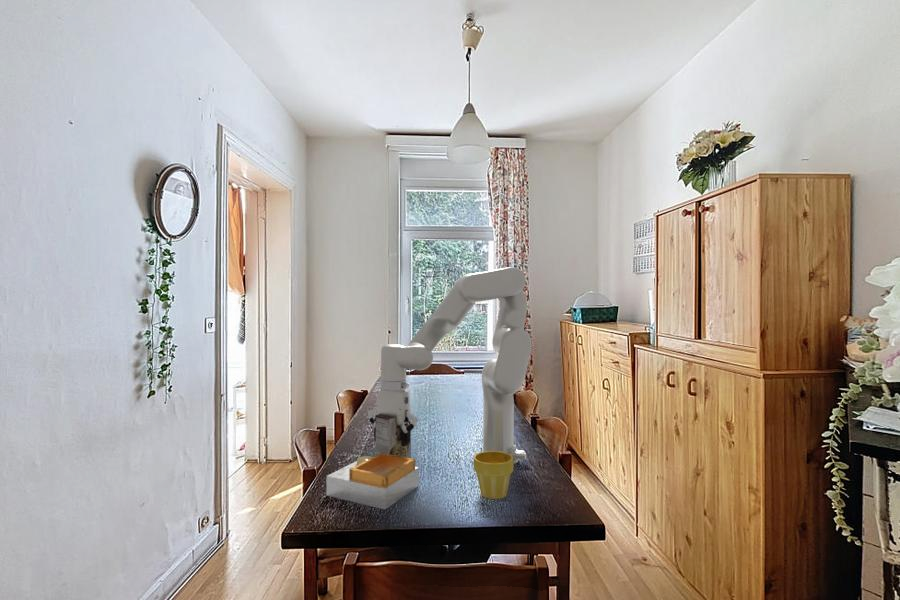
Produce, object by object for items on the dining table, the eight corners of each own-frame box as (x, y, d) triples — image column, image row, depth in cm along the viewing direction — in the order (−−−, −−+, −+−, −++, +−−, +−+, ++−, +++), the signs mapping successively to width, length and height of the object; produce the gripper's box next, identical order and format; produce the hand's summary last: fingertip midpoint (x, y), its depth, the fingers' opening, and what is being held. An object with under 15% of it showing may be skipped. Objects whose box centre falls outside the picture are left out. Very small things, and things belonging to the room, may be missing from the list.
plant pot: (465, 494, 123) (465, 456, 123) (491, 483, 130) (491, 447, 130) (495, 506, 116) (496, 466, 115) (521, 494, 123) (521, 456, 123)
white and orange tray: (418, 485, 128) (418, 458, 128) (385, 509, 114) (385, 478, 114) (364, 474, 136) (364, 448, 136) (326, 495, 122) (326, 466, 122)
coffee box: (396, 460, 148) (396, 408, 148) (411, 465, 144) (411, 412, 144) (374, 468, 141) (374, 414, 141) (389, 473, 137) (389, 417, 137)
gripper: (424, 386, 142) (422, 444, 142) (376, 381, 149) (375, 435, 149) (411, 390, 135) (409, 450, 135) (361, 384, 143) (360, 441, 143)
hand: (391, 442), depth 142 cm, fingers open, 9 cm apart
